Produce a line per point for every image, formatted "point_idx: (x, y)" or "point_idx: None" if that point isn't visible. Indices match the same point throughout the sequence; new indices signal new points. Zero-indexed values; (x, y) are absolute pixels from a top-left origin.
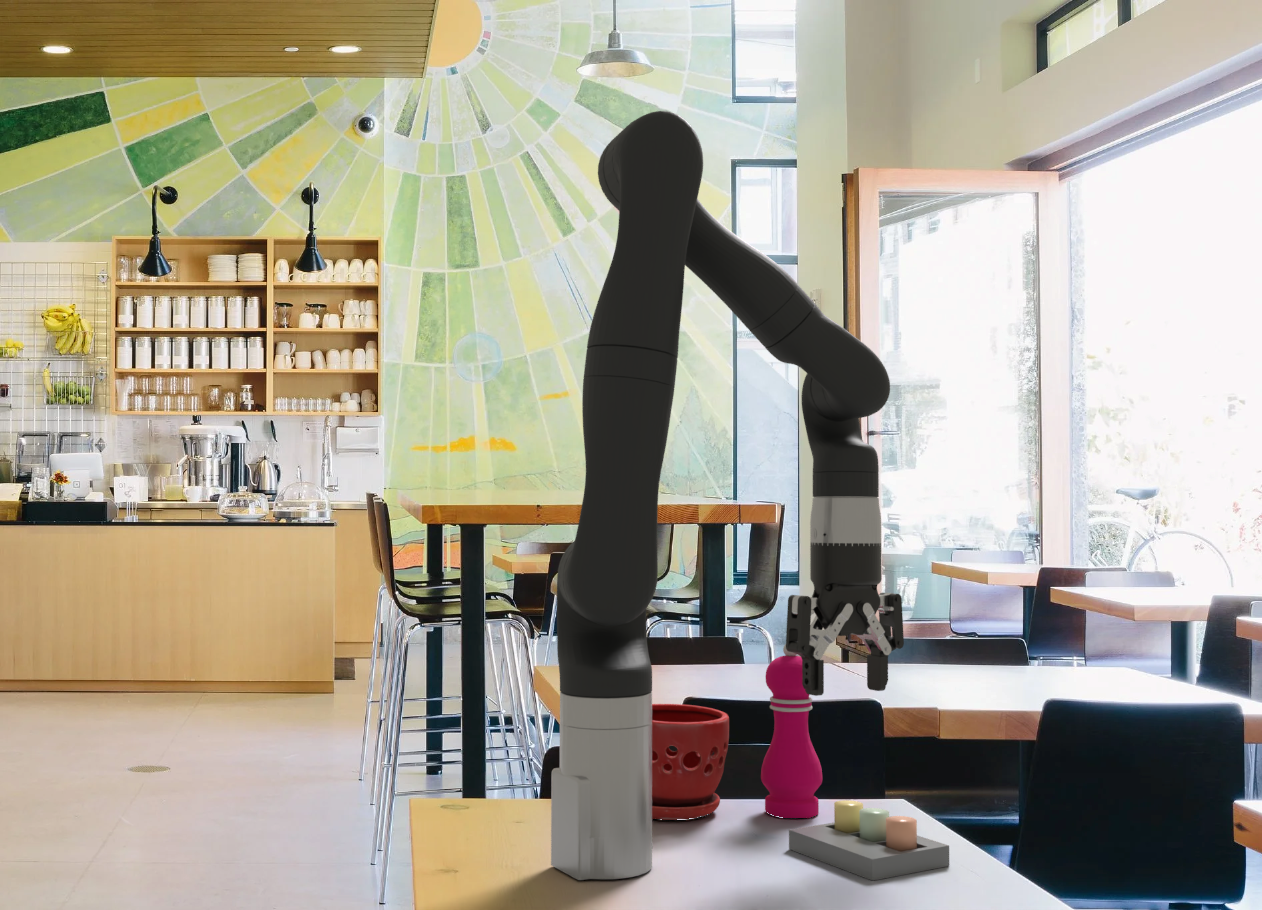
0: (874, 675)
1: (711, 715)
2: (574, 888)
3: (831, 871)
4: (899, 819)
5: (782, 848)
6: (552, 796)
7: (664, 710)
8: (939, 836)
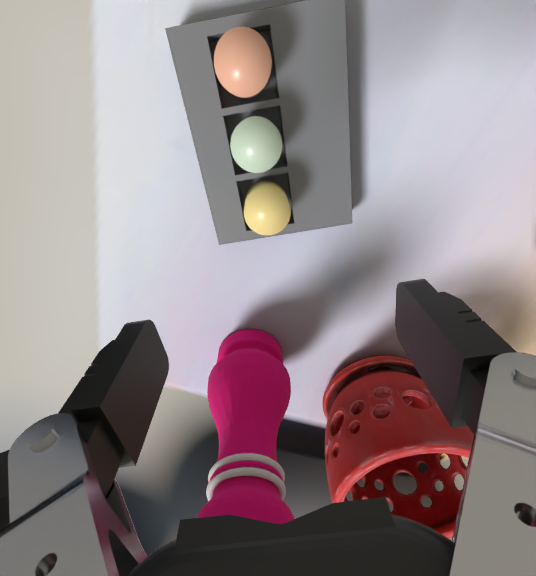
0: (145, 372)
1: None
2: None
3: (361, 85)
4: (245, 66)
5: None
6: None
7: None
8: (114, 201)
